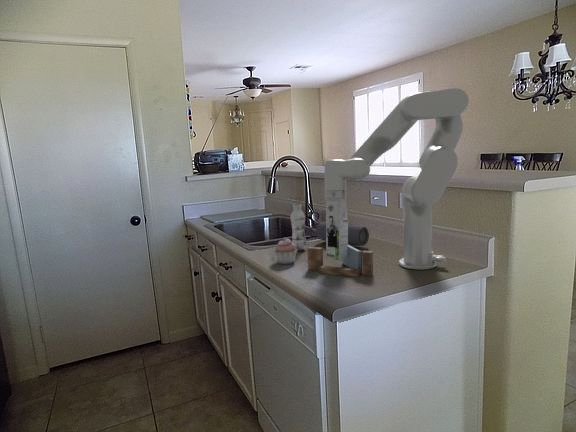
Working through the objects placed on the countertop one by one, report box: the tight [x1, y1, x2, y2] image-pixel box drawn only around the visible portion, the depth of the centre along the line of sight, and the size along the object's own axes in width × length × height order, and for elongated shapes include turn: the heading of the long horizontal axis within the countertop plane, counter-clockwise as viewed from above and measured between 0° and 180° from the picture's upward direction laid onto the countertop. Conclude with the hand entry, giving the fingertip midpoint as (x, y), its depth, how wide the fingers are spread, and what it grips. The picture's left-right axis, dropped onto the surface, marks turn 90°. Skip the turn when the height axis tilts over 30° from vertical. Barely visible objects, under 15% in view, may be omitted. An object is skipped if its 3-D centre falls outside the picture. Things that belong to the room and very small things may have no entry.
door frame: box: [306, 246, 374, 278], centre depth 130 cm, size 23×4×8 cm, turn 63°
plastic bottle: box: [289, 203, 307, 251], centre depth 162 cm, size 6×7×20 cm
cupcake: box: [273, 236, 299, 265], centre depth 146 cm, size 9×9×10 cm
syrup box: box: [325, 217, 349, 261], centre depth 135 cm, size 6×6×14 cm
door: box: [341, 245, 363, 275], centre depth 134 cm, size 14×1×8 cm, turn 16°
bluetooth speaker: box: [316, 221, 370, 247], centre depth 168 cm, size 23×9×10 cm, turn 46°
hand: (336, 243), depth 135 cm, fingers closed on syrup box, 7 cm apart
